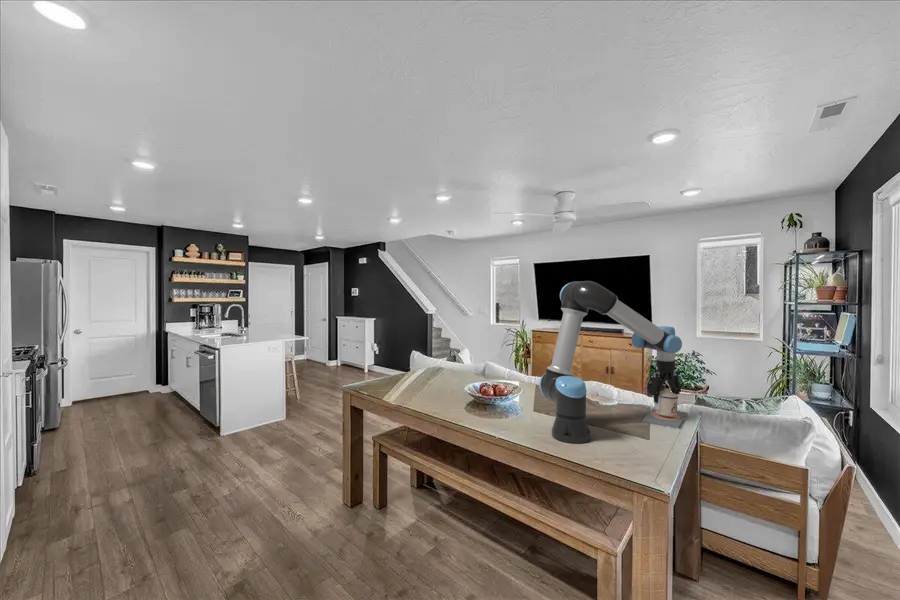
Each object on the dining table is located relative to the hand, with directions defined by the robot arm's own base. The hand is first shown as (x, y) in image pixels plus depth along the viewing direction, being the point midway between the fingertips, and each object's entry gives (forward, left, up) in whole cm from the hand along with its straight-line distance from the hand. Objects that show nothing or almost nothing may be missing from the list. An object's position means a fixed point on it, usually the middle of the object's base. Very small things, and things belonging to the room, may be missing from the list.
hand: (665, 408), depth 176 cm
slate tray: (0, 0, -5) cm, 5 cm away
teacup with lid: (+1, 0, -3) cm, 3 cm away
